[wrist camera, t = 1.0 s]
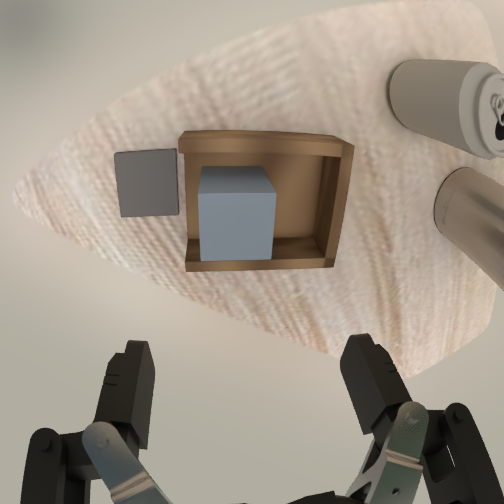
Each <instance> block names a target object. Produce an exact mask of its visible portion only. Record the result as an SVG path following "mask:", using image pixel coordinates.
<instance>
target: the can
mask: <svg viewBox="0 0 504 504" xmlns="http://www.w3.org/2000/svg"><path fill="white" fill-rule="evenodd" d="M389 96H390V101H391V105H392V109H393V111H394V113H395V115H396V117H397V118H398V120H399V121H400V122H401V123H402V124H403V125H404V126H405V127H407V128H409V129H410V130H412V131H414V132H417V133H420V134H423V135H426V136H428V137H431V138H434V139H436V140H439V141H442V142H444V143H447V144H449V145H452V146H454V147H457V148H459V149H461V150H464V151H466V152H468V153H471V154H473V155H475V156H477V157H479V158H483V159H492V158H495V157H502V158H503V157H504V74H502V73H501V72H500V71H499V70H498V69H497V68H496V67H494V66H492V65H490V64H488V63H481V62H470V61H455V60H409V61H406V62H404V63H403V64H401V65H399V67H398V68H397V69H396V71H395V72H394V73H393V76H392V79H391V82H390V94H389Z"/></svg>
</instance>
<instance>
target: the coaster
mask: <svg viewBox="0 0 504 504" xmlns="http://www.w3.org/2000/svg"><path fill="white" fill-rule="evenodd" d="M114 163H115V173H116V182H117V190H118V198H119V206H120V213H121V217H142V216H168V215H179V201H178V182H177V157H176V149H157V150H143V151H130V152H119V153H115V154H114Z"/></svg>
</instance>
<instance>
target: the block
mask: <svg viewBox="0 0 504 504" xmlns="http://www.w3.org/2000/svg"><path fill="white" fill-rule="evenodd" d="M276 195H277V193H276V191H275V189H274V188H273V186H272V184H271V182H270V181H269V179H268V177H267V175H266V173H265V172H264V170H263V168H262V166H202V171H201V177H200V184H199V190H198V211H199V236H200V256H201V261H229V260H268V259H271V255H272V244H273V232H274V220H275V207H276Z"/></svg>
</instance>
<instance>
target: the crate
mask: <svg viewBox="0 0 504 504" xmlns="http://www.w3.org/2000/svg"><path fill="white" fill-rule="evenodd" d="M178 144H179V153H184V160H185V190H186V211H187V228H188V244H187V251H186V259H185V267H186V272H204V271H244V270H276V269H305V268H330V267H334V263H335V258H336V253H337V248H338V243H339V238H340V233H341V228H342V222H343V217H344V211H345V206H346V200H347V194H348V187H349V181H350V175H351V168H352V161H353V154H354V145H352V144H350V143H348V142H345V141H343V140H341V139H339V138H337V137H335V136H330V135H319V134H307V133H293V132H276V131H246V130H206V131H184V133H183V134H182V135H181V137H180V138H179V140H178ZM202 166H262V168H263V170H264V172H265V173H266V175H267V177H268V179H269V181H270V182H271V184H272V186H273V188H274V189H275V191H276V193H277V195H276V207H275V220H274V232H273V244H272V255H271V259H268V260H229V261H201V256H200V236H199V211H198V190H199V184H200V177H201V171H202Z"/></svg>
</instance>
